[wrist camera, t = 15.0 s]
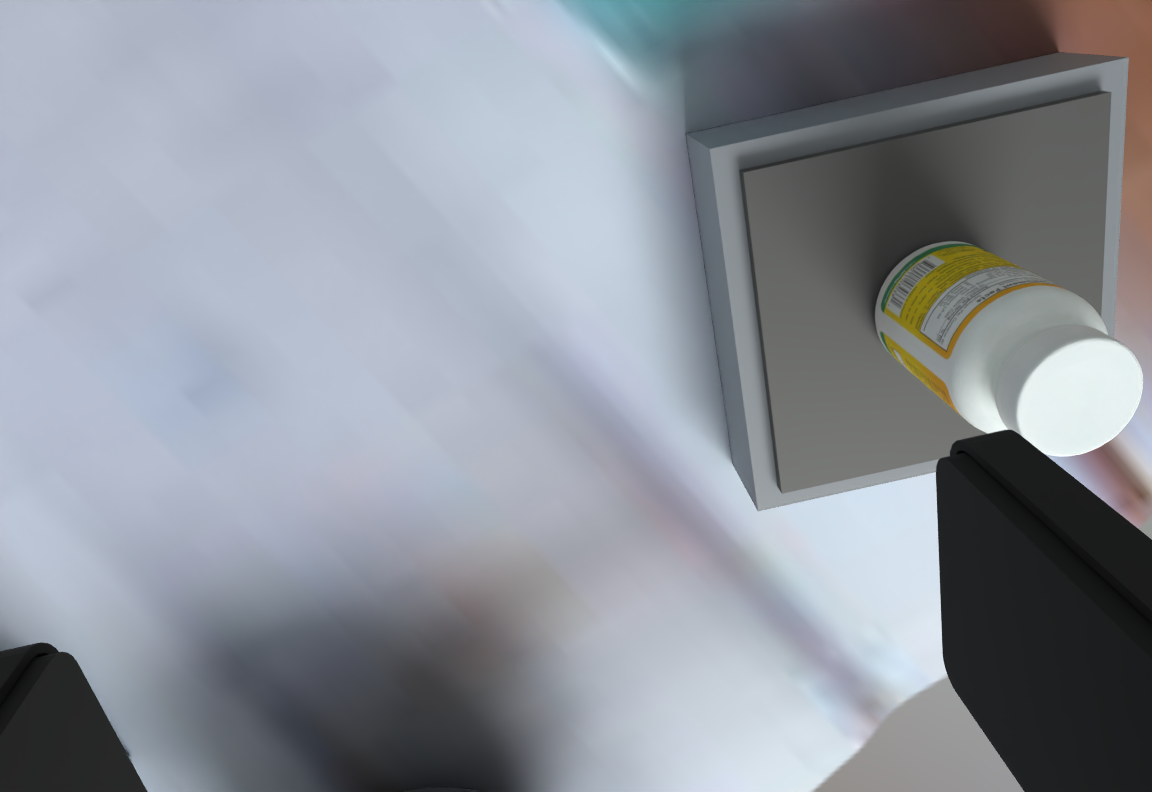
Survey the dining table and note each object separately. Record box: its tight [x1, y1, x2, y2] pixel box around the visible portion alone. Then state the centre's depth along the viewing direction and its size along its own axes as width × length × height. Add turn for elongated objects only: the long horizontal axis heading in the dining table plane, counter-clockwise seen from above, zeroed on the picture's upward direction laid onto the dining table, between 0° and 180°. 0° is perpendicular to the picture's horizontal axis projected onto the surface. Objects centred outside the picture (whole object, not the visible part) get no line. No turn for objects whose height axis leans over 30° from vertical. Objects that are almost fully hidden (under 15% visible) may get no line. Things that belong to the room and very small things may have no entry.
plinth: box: [686, 52, 1129, 511], centre depth 38 cm, size 16×16×5 cm
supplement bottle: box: [875, 241, 1143, 457], centre depth 32 cm, size 5×5×10 cm
